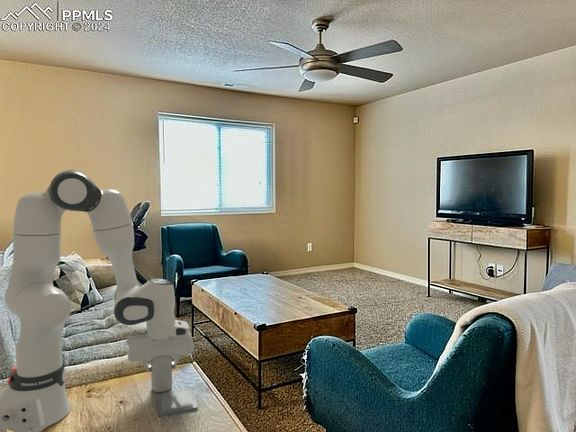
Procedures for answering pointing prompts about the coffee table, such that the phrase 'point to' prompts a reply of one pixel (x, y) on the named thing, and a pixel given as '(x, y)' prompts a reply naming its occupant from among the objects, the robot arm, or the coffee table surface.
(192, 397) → the coaster
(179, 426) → the coffee table surface
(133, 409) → the coffee table surface
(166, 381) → the beverage can
